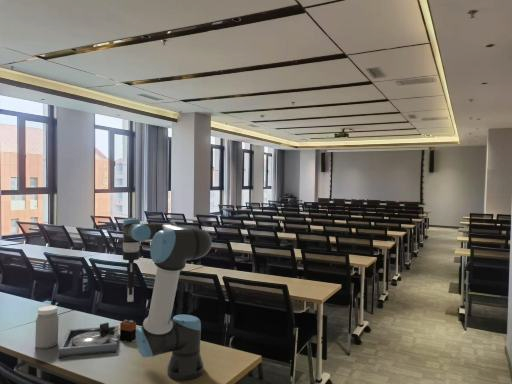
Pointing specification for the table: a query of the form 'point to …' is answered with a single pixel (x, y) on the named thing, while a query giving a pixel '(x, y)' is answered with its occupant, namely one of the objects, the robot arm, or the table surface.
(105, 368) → the table surface
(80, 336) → the dial
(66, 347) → the housing
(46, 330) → the jar
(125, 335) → the battery
